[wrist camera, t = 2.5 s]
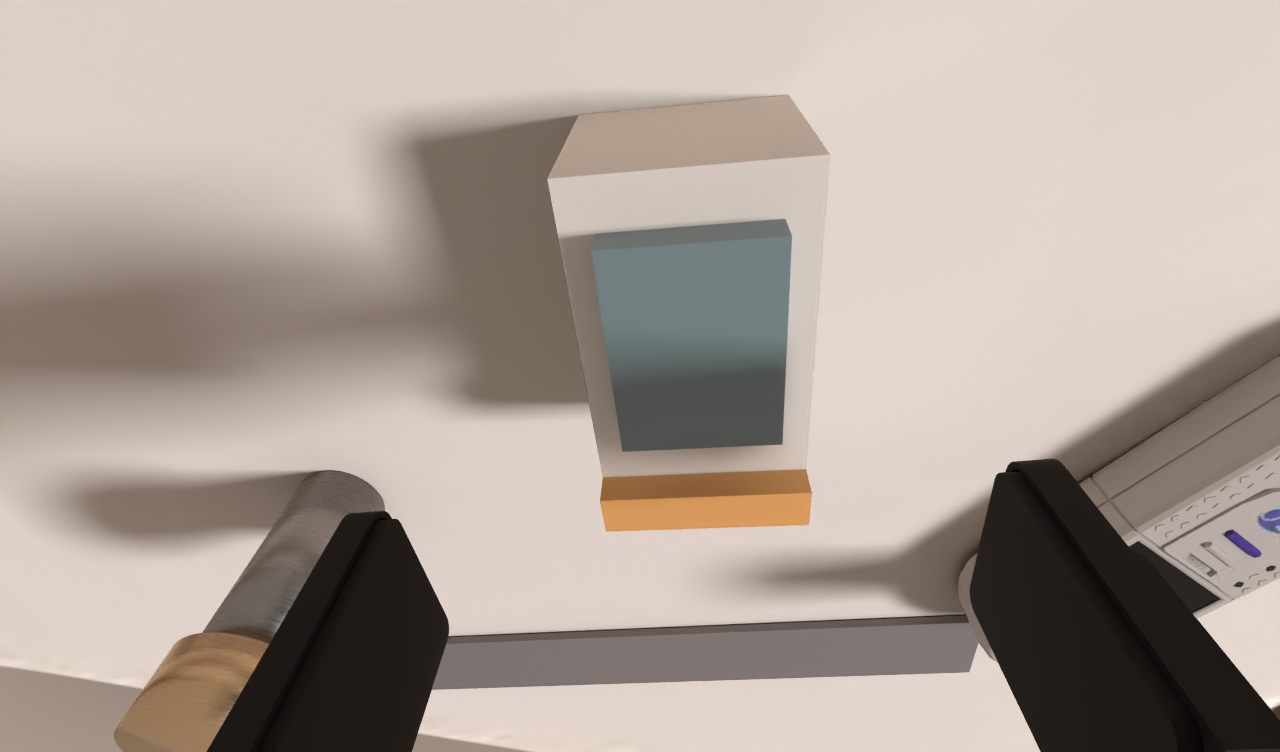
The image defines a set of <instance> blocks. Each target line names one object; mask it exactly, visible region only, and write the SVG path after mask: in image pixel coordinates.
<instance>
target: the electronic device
mask: <svg viewBox="0 0 1280 752" xmlns="http://www.w3.org/2000/svg"><path fill="white" fill-rule="evenodd" d="M1092 476H1093V477H1092V478H1091V477H1089V478H1087V479H1086V480H1084V481H1083V482H1081V483H1080V484H1079V485H1080V486H1081V488H1082V489H1083V490H1084V491H1085V493H1086V494H1087V495H1088V496H1089V498H1090V499H1091V500H1092V501H1093V503H1094V504H1095V505H1096V506H1097V508H1098V509H1099V510H1100V511H1101V513H1102V514H1103V515H1104V516H1105V518H1106V519H1107V520H1108V521H1109V523H1110V524H1111V525H1112V526H1113V528H1114V529H1115V530H1116V531H1117V533H1118V534H1119V535H1120V536H1121V538H1122V539H1123V540H1124V541H1125V543H1126V544H1127V545H1128V546H1129V547H1132V548H1134V549H1136V550H1137V551H1139V552H1141V553H1142V554H1143V555H1144V556H1145V557H1146V558H1147V559H1148V560H1149V561H1150V562H1151V563H1152V565H1153V566H1154V567H1155V568H1156V569H1157V571H1158V572H1159V573H1160V574H1161V576H1162V577H1163V578H1164V579H1165V580H1166V582H1167V583H1168V584H1169V585H1170V587H1171V588H1172V589H1173V590H1174V591H1175V593H1176V594H1177V595H1178V596H1179V598H1180V599H1181V600H1182V601H1183V603H1184V604H1185V605H1186V606H1187V607H1188V609H1189V610H1190V611H1191V612H1192V614H1193V615H1194V616H1195V617H1196V618H1199V617H1201V616H1203V615H1205V614H1207V613H1209V612H1211V611H1213V610H1215V609H1217V608H1219V607H1221V606H1223V605H1225V604H1227V603H1229V602H1231V601H1232V600H1236V599H1238V598H1240V597H1242V596H1244V595H1246V594H1248V593H1250V592H1252V591H1254V590H1256V589H1258V588H1260V587H1262V586H1264V585H1266V584H1268V583H1270V582H1272V581H1275V580H1277V579H1279V578H1280V355H1279V356H1277V357H1275V358H1274V359H1272V360H1271V361H1269V362H1267V363H1266V364H1264V365H1263V366H1261V367H1260V368H1258V369H1256V370H1255V371H1253V372H1252V373H1250V374H1248V375H1247V376H1245V377H1244V378H1242V379H1240V380H1239V381H1237V382H1236V383H1234V384H1233V385H1231V386H1229V387H1228V388H1226V389H1225V390H1223V391H1221V392H1220V393H1218V394H1217V395H1215V396H1214V397H1212V398H1211V399H1209V400H1207V401H1206V402H1204V403H1203V404H1201V405H1200V406H1198V407H1197V408H1195V409H1194V410H1192V411H1191V412H1189V413H1187V414H1186V415H1184V416H1183V417H1181V418H1180V419H1178V420H1177V421H1175V422H1174V423H1172V424H1171V425H1169V426H1167V427H1166V428H1164V429H1163V430H1161V431H1160V432H1158V433H1157V434H1155V435H1154V436H1152V437H1151V438H1149V439H1147V440H1146V441H1144V442H1143V443H1141V444H1140V445H1138V446H1137V447H1135V448H1134V449H1132V450H1131V451H1129V452H1127V453H1126V454H1124V455H1123V456H1121V457H1120V458H1118V459H1117V460H1115V461H1114V462H1112V463H1110V464H1109V465H1107V466H1106V467H1104V468H1103V469H1101V470H1100V471H1098V472H1097V473H1095V474H1094V475H1092ZM977 554H978V552H977V553H976V554H975V555H974V556H973V557H972V558H971V559H969V560H968V561H967V563H966V565H965V566H964V568H963V570H962V572H961V573H960V576H959V580H958V598H959V601H960V603H961V605H962V607H963V609H964V611H965V613H966V616H967V618H968V621H969V623H970V625H971V627H972V629H973V631H974V633H975V636H976V638H977V640H978V642H979V644H980V645H981V646H982V648H983V649H984V650H985V652H986V653H987V654H988V656H989V657H990V658H992V659H993V660H994V661H996V662H998V661H997V659H996V657H995V655H994V653H993V651H992V649H991V647H990V645H989V642H988V640H987V638H986V636H985V634H984V632H983V630H982V628H981V626H980V624H979V622H978V620H977V617H976V615H975V613H974V611H973V608H972V605H971V601H970V592H969V590H970V584H971V579H972V575H973V571H974V566H975V562H976V558H977Z"/></svg>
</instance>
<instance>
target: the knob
mask: <svg viewBox="0 0 1280 752" xmlns="http://www.w3.org/2000/svg"><path fill="white" fill-rule="evenodd" d="M374 511H385V506H384V502H383V499H382V497H381V496H380V494H379V493H378V492H377V491H376V490H375V489H374V488H373V487H372V486H371V485H370V484H368V483H367V482H365V481H364V480H362V479H360V478H358V477H356V476H353V475H350V474H347V473H343V472H338V471H321V472H317V473H314V474H311V475H310V476H308V477H307V478H306V479H305V480H304V481H303V482H302V484H301V485H300V487H299V488H298V490H297V491H296V493H295V494H294V496H293V497H292V499H291V500H290V502H289V503H288V505H287V506H286V508H285V509H284V511H283V512H282V514H281V515H280V517H279V518H278V520H277V521H276V523H275V524H274V526H273V527H272V529H271V530H270V532H269V533H268V535H267V536H266V538H265V539H264V541H263V542H262V544H261V545H260V547H259V548H258V550H257V551H256V553H255V554H254V556H253V557H252V559H251V561H250V562H249V564H248V565H247V567H246V568H245V570H244V571H243V573H242V574H241V576H240V577H239V579H238V580H237V582H236V583H235V585H234V586H233V588H232V589H231V591H230V592H229V594H228V595H227V597H226V598H225V600H224V601H223V603H222V604H221V606H220V607H219V609H218V610H217V612H216V613H215V615H214V616H213V618H212V619H211V621H210V622H209V624H208V625H207V627H206V628H205V630H204V631H203V633H199V634H193V635H190V636H187V637H184V638H182V639H180V640H179V641H178V642H176V643H175V645H174V646H173V647H172V649H171V650H170V652H169V653H168V654H167V656H166V657H165V659H164V660H163V662H162V663H161V664H160V666H159V667H158V669H157V670H156V672H155V673H154V675H153V676H152V677H151V679H150V680H149V682H148V683H147V685H146V686H145V688H144V689H143V690H142V692H141V693H140V695H139V696H138V698H137V699H136V701H135V702H134V703H133V705H132V706H131V708H130V709H129V711H128V712H127V714H126V715H125V716H124V718H123V719H122V721H121V722H120V724H119V725H118V727H117V728H116V730H115V732H114V739H115V741H116V743H117V745H118V746H119V747H120V748H121V750H122V751H123V752H207V750H208V748H209V746H210V745H211V743H212V741H213V740H214V738H215V736H216V734H217V733H218V731H219V729H220V728H221V726H222V724H223V722H224V721H225V719H226V717H227V716H228V714H229V712H230V710H231V709H232V707H233V705H234V704H235V702H236V700H237V698H238V697H239V695H240V693H241V692H242V690H243V688H244V687H245V685H246V683H247V681H248V680H249V678H250V676H251V675H252V673H253V671H254V669H255V668H256V666H257V664H258V663H259V661H260V659H261V657H262V656H263V654H264V652H265V651H266V649H267V647H268V645H269V644H270V642H271V640H272V639H273V637H274V635H275V633H276V632H277V630H278V628H279V627H280V625H281V623H282V621H283V620H284V618H285V616H286V615H287V613H288V611H289V609H290V608H291V606H292V604H293V603H294V601H295V599H296V597H297V596H298V594H299V592H300V591H301V589H302V587H303V585H304V584H305V582H306V580H307V579H308V577H309V575H310V573H311V572H312V570H313V568H314V567H315V565H316V563H317V561H318V560H319V558H320V556H321V555H322V553H323V551H324V549H325V548H326V546H327V544H328V543H329V541H330V539H331V537H332V536H333V534H334V532H335V531H336V529H337V527H338V525H339V524H340V522H341V520H342V519H343V518H344V517H345V516H346V515H348V514H349V513H361V512H374Z"/></svg>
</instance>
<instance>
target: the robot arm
mask: <svg viewBox="0 0 1280 752" xmlns="http://www.w3.org/2000/svg"><path fill="white" fill-rule="evenodd" d="M969 592H970V601H971V605H972V608H973V611H974V613H975V615H976V617H977V620H978V622H979V624H980V626H981V628H982V630H983V632H984V634H985V636H986V638H987V640H988V642H989V645H990V647H991V649H992V651H993V653H994V655H995V657H996V659H997V661H998V663H999V665H1000V668H1001V670H1002V672H1003V674H1004V676H1005V678H1006V680H1007V682H1008V684H1009V686H1010V688H1011V690H1012V693H1013V695H1014V697H1015V699H1016V701H1017V703H1018V705H1019V707H1020V709H1021V711H1022V713H1023V716H1024V718H1025V720H1026V722H1027V724H1028V726H1029V728H1030V730H1031V732H1032V734H1033V736H1034V739H1035V741H1036V743H1037V745H1038V747H1039V749H1040V751H1041V752H1280V720H1279V719H1278V718H1277V717H1276V715H1275V714H1274V713H1273V712H1272V710H1271V709H1270V708H1269V707H1268V706H1267V704H1266V703H1265V702H1264V701H1263V699H1262V698H1261V697H1260V696H1259V694H1258V693H1257V692H1256V691H1255V690H1254V688H1253V687H1252V686H1251V685H1250V683H1249V682H1248V681H1247V680H1246V679H1245V677H1244V676H1243V675H1242V674H1241V672H1240V671H1239V670H1238V669H1237V668H1236V666H1235V665H1234V664H1233V663H1232V661H1231V660H1230V659H1229V658H1228V656H1227V655H1226V654H1225V653H1224V652H1223V650H1222V649H1221V648H1220V647H1219V645H1218V644H1217V643H1216V642H1215V641H1214V639H1213V638H1212V637H1211V636H1210V634H1209V633H1208V632H1207V631H1206V629H1205V628H1204V627H1203V626H1202V625H1201V623H1200V622H1199V621H1198V620H1197V618H1196V617H1195V616H1194V615H1193V614H1192V612H1191V611H1190V610H1189V609H1188V607H1187V606H1186V605H1185V604H1184V603H1183V601H1182V600H1181V599H1180V598H1179V596H1178V595H1177V594H1176V593H1175V591H1174V590H1173V589H1172V588H1171V587H1170V585H1169V584H1168V583H1167V582H1166V580H1165V579H1164V578H1163V577H1162V576H1161V574H1160V573H1159V572H1158V571H1157V569H1156V568H1155V567H1154V566H1153V565H1152V563H1151V562H1150V561H1149V560H1148V559H1147V558H1146V557H1145V556H1144V555H1143V554H1142V553H1141V552H1139V551H1137V550H1136V549H1134V548H1132V547H1129V546H1128V545H1127V544H1126V543H1125V541H1124V540H1123V539H1122V538H1121V536H1120V535H1119V534H1118V533H1117V531H1116V530H1115V529H1114V528H1113V526H1112V525H1111V524H1110V523H1109V521H1108V520H1107V519H1106V518H1105V516H1104V515H1103V514H1102V513H1101V511H1100V510H1099V509H1098V508H1097V506H1096V505H1095V504H1094V503H1093V501H1092V500H1091V499H1090V498H1089V496H1088V495H1087V494H1086V493H1085V491H1084V490H1083V489H1082V488H1081V486H1080V485H1079V484H1078V483H1077V481H1076V480H1075V479H1074V478H1073V476H1072V475H1071V474H1070V473H1069V471H1068V470H1067V469H1066V468H1065V466H1064V465H1063V464H1062V463H1061V462H1060V461H1058V460H1056V459H1044V460H1031V461H1018V462H1011V463H1010V464H1009V465H1008V467H1007V469H1006V472H1004V473H998V474H997V475H996V478H995V481H994V485H993V489H992V494H991V498H990V502H989V506H988V511H987V515H986V519H985V524H984V528H983V532H982V536H981V541H980V545H979V549H978V554H977V558H976V562H975V566H974V571H973V575H972V579H971V584H970V590H969ZM448 634H449V624H448V619H447V616H446V614H445V612H444V610H443V608H442V606H441V604H440V602H439V600H438V598H437V596H436V594H435V592H434V590H433V588H432V586H431V584H430V582H429V580H428V578H427V576H426V574H425V571H424V569H423V567H422V565H421V563H420V561H419V559H418V557H417V555H416V553H415V551H414V549H413V547H412V545H411V543H410V541H409V539H408V537H407V535H406V533H405V531H404V529H403V527H402V525H401V523H400V522H399V520H397V519H392V518H391V517H390V515H389V514H388V513H387V512H385V511H374V512H361V513H349V514H348V515H346V516H345V517H344V518H343V519H342V520H341V522H340V524H339V525H338V527H337V529H336V531H335V532H334V534H333V536H332V537H331V539H330V541H329V543H328V544H327V546H326V548H325V549H324V551H323V553H322V555H321V556H320V558H319V560H318V561H317V563H316V565H315V567H314V568H313V570H312V572H311V573H310V575H309V577H308V579H307V580H306V582H305V584H304V585H303V587H302V589H301V591H300V592H299V594H298V596H297V597H296V599H295V601H294V603H293V604H292V606H291V608H290V609H289V611H288V613H287V615H286V616H285V618H284V620H283V621H282V623H281V625H280V627H279V628H278V630H277V632H276V633H275V635H274V637H273V639H272V640H271V642H270V644H269V645H268V647H267V649H266V651H265V652H264V654H263V656H262V657H261V659H260V661H259V663H258V664H257V666H256V668H255V669H254V671H253V673H252V675H251V676H250V678H249V680H248V681H247V683H246V685H245V687H244V688H243V690H242V692H241V693H240V695H239V697H238V698H237V700H236V702H235V704H234V705H233V707H232V709H231V710H230V712H229V714H228V716H227V717H226V719H225V721H224V722H223V724H222V726H221V728H220V729H219V731H218V733H217V734H216V736H215V738H214V740H213V741H212V743H211V745H210V746H209V748H208V750H207V752H412V749H413V746H414V743H415V740H416V737H417V734H418V731H419V727H420V724H421V721H422V718H423V715H424V712H425V709H426V706H427V703H428V699H429V696H430V693H431V690H432V687H433V684H434V681H435V678H436V675H437V672H438V668H439V665H440V662H441V659H442V656H443V653H444V650H445V647H446V644H447V640H448Z"/></svg>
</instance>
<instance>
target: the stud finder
mask: <svg viewBox="0 0 1280 752" xmlns="http://www.w3.org/2000/svg"><path fill="white" fill-rule="evenodd" d="M829 163H830V153H829V152H828V151H827V149H826V148H825V146H824V145H823V143H822V142H821V141H820V139H819V138H818V136H817V135H816V133H815V132H814V131H813V129H812V128H811V126H810V125H809V123H808V122H807V120H806V119H805V118H804V116H803V115H802V113H801V112H800V110H799V109H798V108H797V106H796V105H795V103H794V102H793V100H792V99H791V98H790V96H789V95H781V96H771V97H760V98H750V99H739V100H729V101H718V102H708V103H698V104H687V105H677V106H666V107H656V108H645V109H635V110H625V111H614V112H604V113H593V114H583V115H579V116H578V118H577V120H576V122H575V124H574V126H573V128H572V130H571V132H570V134H569V136H568V138H567V140H566V142H565V144H564V146H563V148H562V150H561V152H560V154H559V156H558V158H557V160H556V162H555V164H554V166H553V168H552V170H551V172H550V174H549V176H548V178H547V180H548V186H549V191H550V196H551V202H552V207H553V212H554V218H555V223H556V229H557V234H558V239H559V245H560V250H561V255H562V261H563V266H564V271H565V277H566V282H567V288H568V293H569V298H570V304H571V309H572V314H573V320H574V325H575V330H576V336H577V341H578V347H579V352H580V357H581V363H582V368H583V373H584V379H585V384H586V389H587V395H588V400H589V406H590V411H591V416H592V422H593V427H594V432H595V438H596V443H597V448H598V454H599V459H600V465H601V470H602V475H603V482H602V490H601V498H600V503H601V508H602V513H603V518H604V523H605V529H606V532H608V531H638V530H668V529H697V528H727V527H757V526H787V525H809V518H810V506H811V495H812V492H811V488H810V484H809V480H808V476H807V472H806V461H807V448H808V435H809V422H810V409H811V396H812V383H813V370H814V357H815V344H816V331H817V318H818V305H819V292H820V279H821V266H822V253H823V240H824V227H825V214H826V202H827V189H828V176H829Z"/></svg>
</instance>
